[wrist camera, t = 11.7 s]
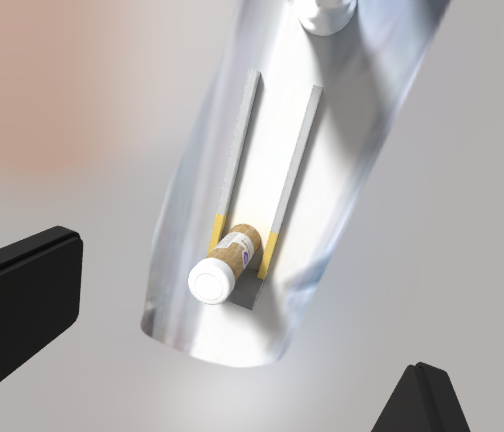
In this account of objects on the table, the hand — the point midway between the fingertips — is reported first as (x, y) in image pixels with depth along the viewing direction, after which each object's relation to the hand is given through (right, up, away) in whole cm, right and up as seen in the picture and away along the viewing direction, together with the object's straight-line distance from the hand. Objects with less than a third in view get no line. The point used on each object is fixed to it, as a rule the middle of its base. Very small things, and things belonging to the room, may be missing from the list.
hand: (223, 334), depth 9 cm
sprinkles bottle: (0, 0, +36) cm, 36 cm away
